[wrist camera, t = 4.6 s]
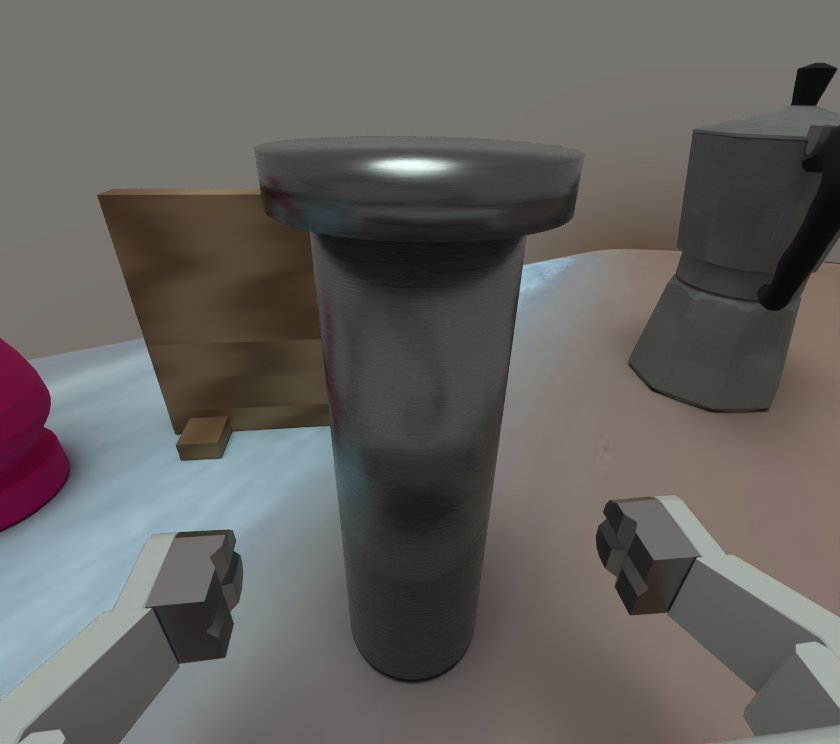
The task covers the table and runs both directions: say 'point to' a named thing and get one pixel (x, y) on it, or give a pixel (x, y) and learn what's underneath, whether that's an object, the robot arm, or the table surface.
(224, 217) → the board
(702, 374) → the coffeepot
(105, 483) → the table surface
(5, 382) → the pepper mill
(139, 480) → the table surface
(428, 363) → the hook
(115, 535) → the table surface
